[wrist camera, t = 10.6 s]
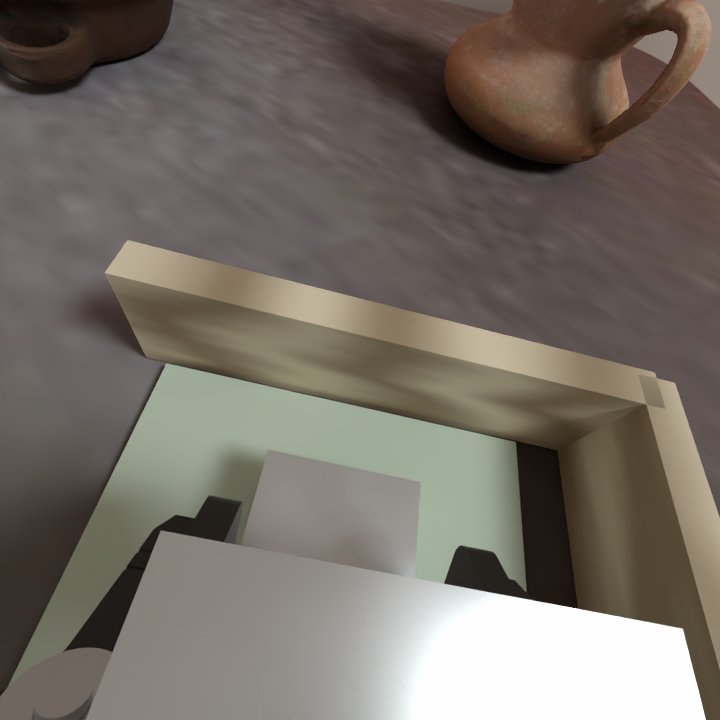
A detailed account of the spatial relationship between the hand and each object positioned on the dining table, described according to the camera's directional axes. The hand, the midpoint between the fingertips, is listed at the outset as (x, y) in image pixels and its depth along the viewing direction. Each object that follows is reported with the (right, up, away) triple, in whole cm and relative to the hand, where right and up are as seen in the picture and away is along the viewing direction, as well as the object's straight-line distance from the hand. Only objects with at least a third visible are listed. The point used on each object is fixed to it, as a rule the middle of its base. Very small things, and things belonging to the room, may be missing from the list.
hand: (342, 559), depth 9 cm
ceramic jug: (+14, +23, +24) cm, 36 cm away
